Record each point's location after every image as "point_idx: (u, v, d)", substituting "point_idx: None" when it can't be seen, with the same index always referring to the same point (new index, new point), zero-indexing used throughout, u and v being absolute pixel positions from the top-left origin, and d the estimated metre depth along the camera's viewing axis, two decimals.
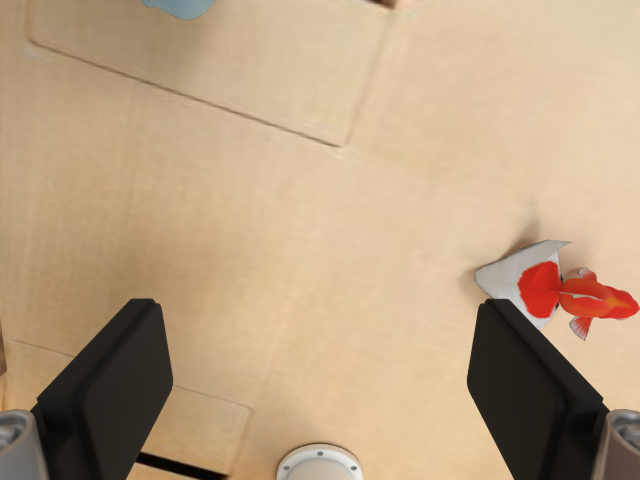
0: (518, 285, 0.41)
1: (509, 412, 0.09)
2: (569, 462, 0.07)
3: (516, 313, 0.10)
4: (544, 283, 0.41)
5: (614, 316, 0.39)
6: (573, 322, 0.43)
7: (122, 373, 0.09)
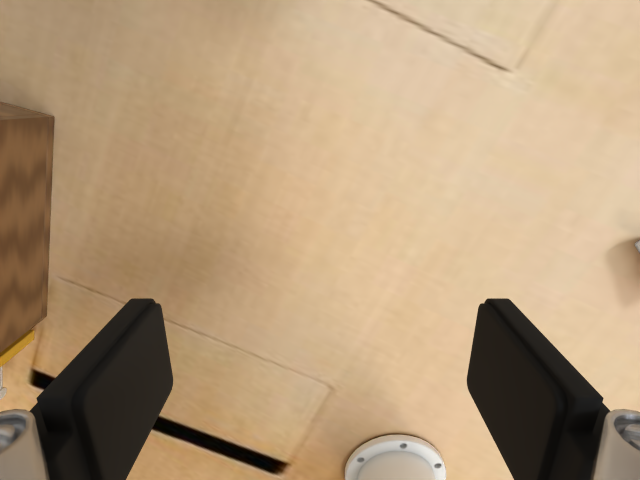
0: None
1: (509, 412, 0.09)
2: (569, 461, 0.07)
3: (516, 313, 0.10)
4: None
5: None
6: None
7: (122, 373, 0.09)
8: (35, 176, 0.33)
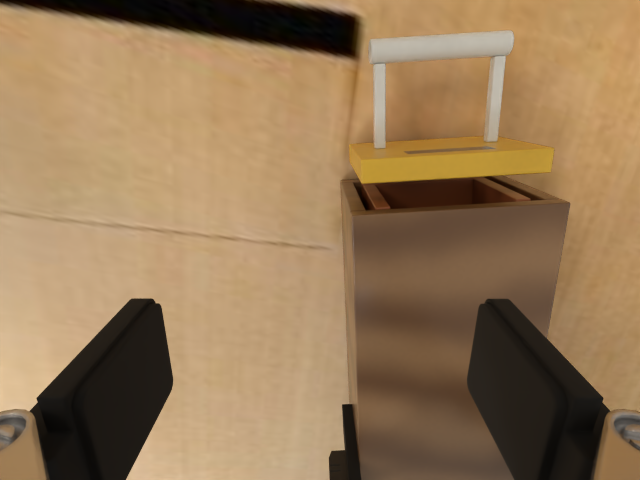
0: None
1: (509, 412, 0.09)
2: (569, 461, 0.07)
3: (516, 313, 0.10)
4: None
5: None
6: None
7: (122, 373, 0.09)
8: (350, 389, 0.30)
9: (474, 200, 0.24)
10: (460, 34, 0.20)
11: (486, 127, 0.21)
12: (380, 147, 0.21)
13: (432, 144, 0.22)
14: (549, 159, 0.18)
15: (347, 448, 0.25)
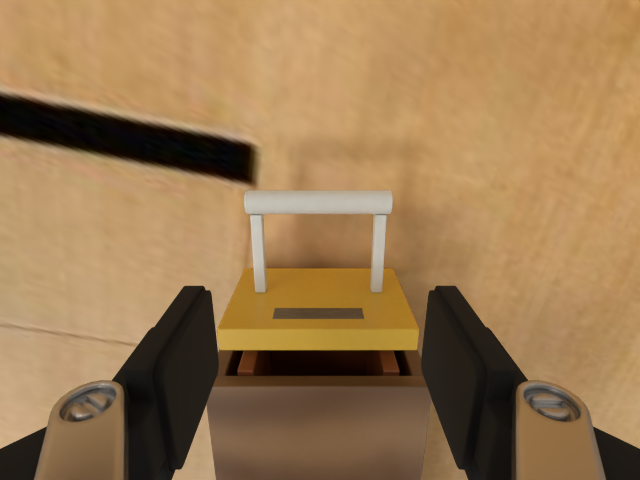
0: None
1: (448, 389, 0.10)
2: (488, 428, 0.08)
3: (459, 298, 0.10)
4: None
5: None
6: None
7: (186, 352, 0.09)
8: None
9: None
10: (338, 193, 0.19)
11: (371, 277, 0.21)
12: (260, 291, 0.21)
13: (317, 288, 0.21)
14: (414, 338, 0.18)
15: None
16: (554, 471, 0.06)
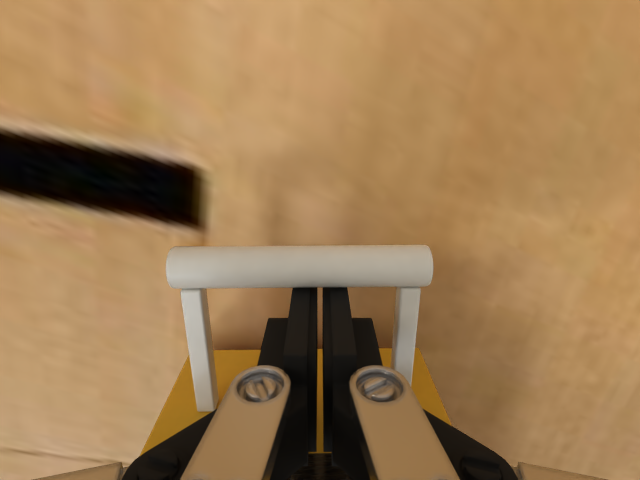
0: None
1: None
2: (333, 411, 0.08)
3: (342, 290, 0.11)
4: None
5: None
6: None
7: None
8: None
9: None
10: (335, 253, 0.10)
11: None
12: (205, 410, 0.12)
13: None
14: None
15: None
16: (403, 456, 0.06)
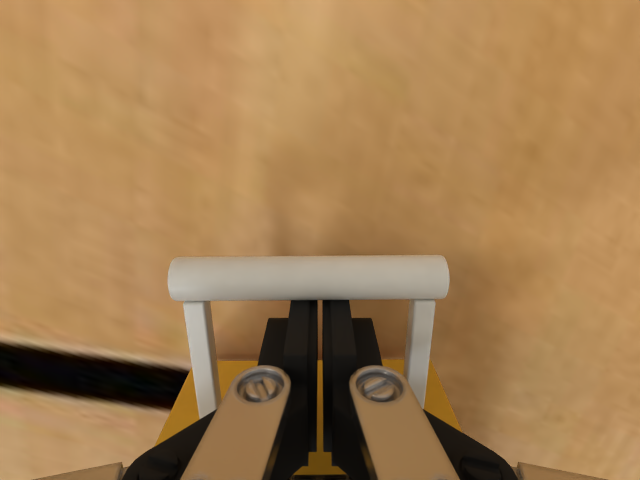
0: None
1: None
2: None
3: None
4: None
5: None
6: None
7: None
8: None
9: None
10: (345, 264, 0.10)
11: None
12: None
13: None
14: None
15: None
16: (403, 456, 0.06)
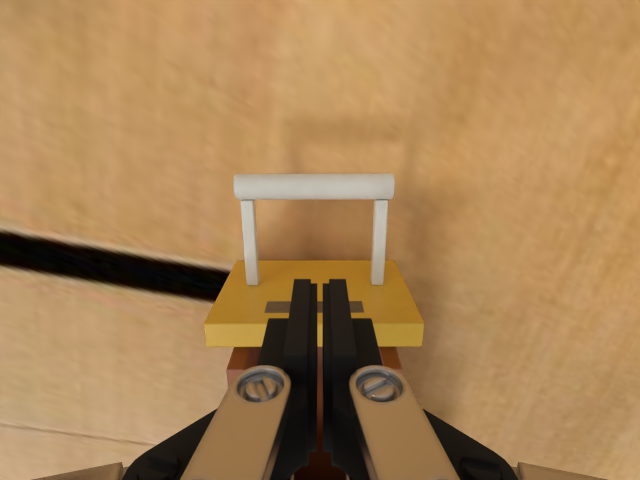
0: None
1: None
2: (332, 411, 0.08)
3: (341, 290, 0.11)
4: None
5: None
6: None
7: None
8: None
9: None
10: (335, 176, 0.17)
11: (371, 269, 0.19)
12: (252, 284, 0.19)
13: (314, 280, 0.20)
14: (419, 333, 0.16)
15: None
16: (403, 455, 0.06)
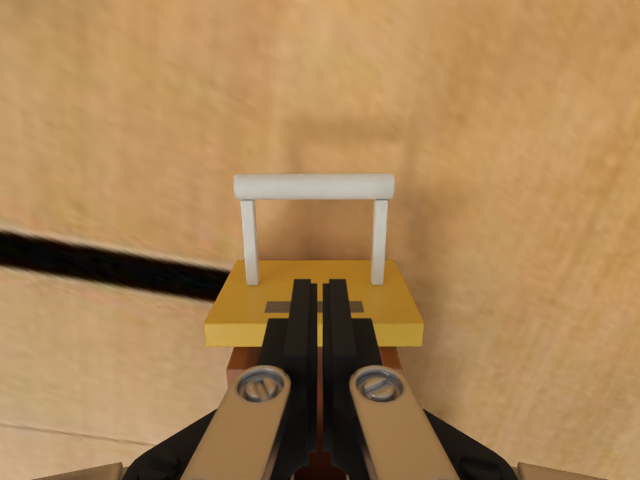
0: None
1: None
2: (332, 411, 0.08)
3: (341, 290, 0.11)
4: None
5: None
6: None
7: None
8: None
9: None
10: (335, 176, 0.17)
11: (371, 269, 0.19)
12: (252, 284, 0.19)
13: (314, 280, 0.20)
14: (419, 333, 0.16)
15: None
16: (403, 455, 0.06)
